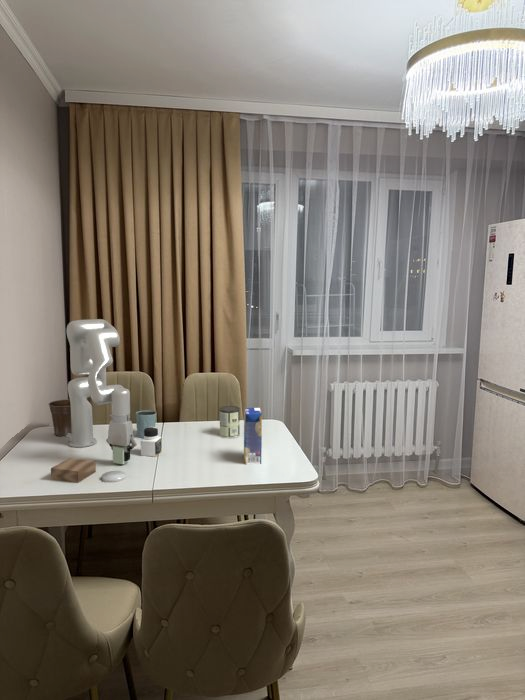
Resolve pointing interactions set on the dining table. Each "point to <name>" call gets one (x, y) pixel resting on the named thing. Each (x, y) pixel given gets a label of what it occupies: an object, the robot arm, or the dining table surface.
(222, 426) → the coffee can
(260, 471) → the dining table surface
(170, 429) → the dining table surface
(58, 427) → the plant pot
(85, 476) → the walnut block
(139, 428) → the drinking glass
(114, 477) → the white domed disc
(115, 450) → the sage block
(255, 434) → the beverage box
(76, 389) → the robot arm
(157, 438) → the medicine bottle
